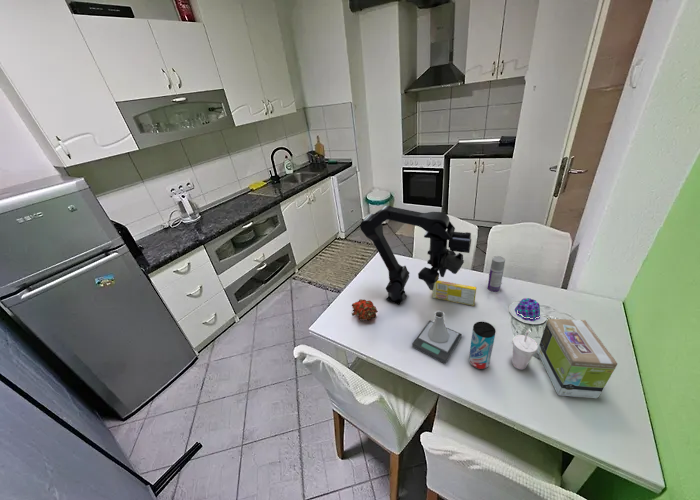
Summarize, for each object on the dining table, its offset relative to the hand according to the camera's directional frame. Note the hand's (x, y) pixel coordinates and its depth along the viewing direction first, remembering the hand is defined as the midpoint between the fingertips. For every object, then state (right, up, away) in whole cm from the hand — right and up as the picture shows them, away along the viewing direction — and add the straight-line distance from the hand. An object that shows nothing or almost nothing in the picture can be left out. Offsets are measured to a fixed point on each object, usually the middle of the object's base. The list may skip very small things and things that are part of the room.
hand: (436, 283), depth 105 cm
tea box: (+30, -24, -23) cm, 45 cm away
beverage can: (+8, -23, -17) cm, 30 cm away
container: (+27, -4, +11) cm, 29 cm away
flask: (-2, -17, -9) cm, 19 cm away
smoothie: (+19, -23, -19) cm, 36 cm away
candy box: (+9, -8, +8) cm, 15 cm away
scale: (-3, -20, -9) cm, 22 cm away
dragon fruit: (-27, -14, +7) cm, 32 cm away
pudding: (+32, -11, -3) cm, 34 cm away
